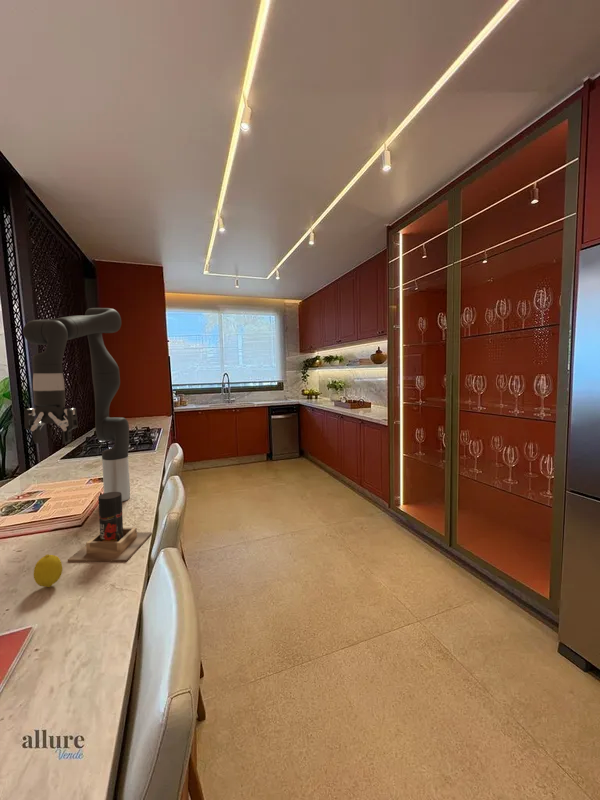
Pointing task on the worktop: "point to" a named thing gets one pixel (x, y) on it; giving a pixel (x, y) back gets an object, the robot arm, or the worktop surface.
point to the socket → (111, 548)
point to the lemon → (47, 570)
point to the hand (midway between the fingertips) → (52, 443)
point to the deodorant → (110, 516)
